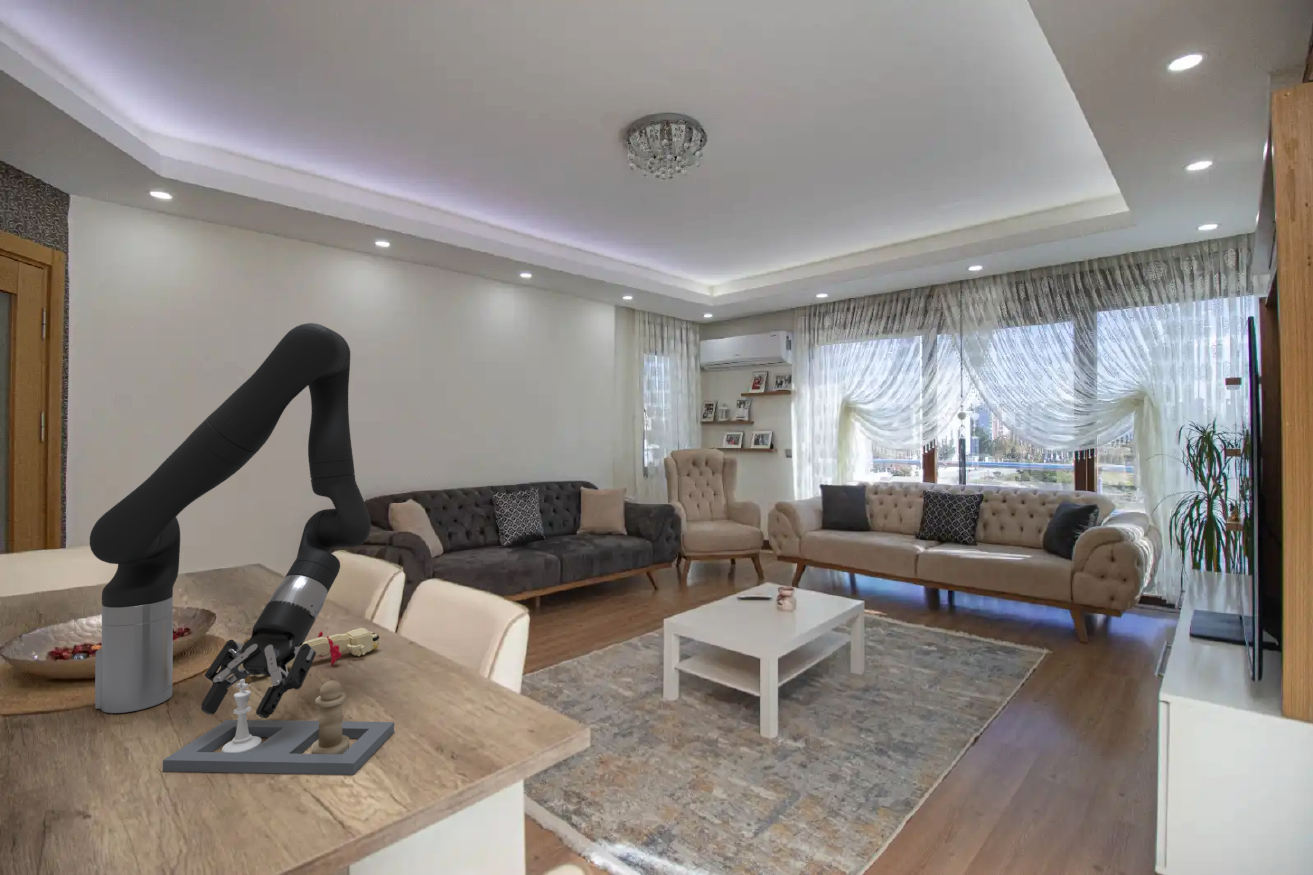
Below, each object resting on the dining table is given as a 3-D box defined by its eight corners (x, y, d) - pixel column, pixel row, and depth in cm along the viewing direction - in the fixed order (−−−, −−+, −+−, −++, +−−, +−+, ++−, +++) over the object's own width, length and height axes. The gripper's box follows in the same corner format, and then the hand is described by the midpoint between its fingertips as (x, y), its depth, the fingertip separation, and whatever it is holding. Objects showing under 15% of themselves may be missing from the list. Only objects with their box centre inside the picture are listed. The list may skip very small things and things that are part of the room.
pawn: (304, 759, 86) (304, 687, 86) (323, 742, 91) (323, 674, 91) (338, 760, 86) (338, 688, 86) (355, 743, 91) (355, 675, 91)
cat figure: (247, 696, 111) (389, 651, 128) (242, 648, 110) (385, 610, 127) (235, 680, 118) (371, 640, 135) (231, 635, 117) (368, 601, 135)
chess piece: (242, 759, 86) (242, 688, 86) (212, 756, 87) (212, 685, 87) (270, 742, 91) (270, 674, 91) (242, 739, 92) (242, 672, 92)
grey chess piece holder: (162, 771, 83) (162, 760, 83) (227, 729, 95) (227, 719, 95) (353, 774, 82) (353, 763, 82) (394, 731, 94) (394, 722, 94)
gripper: (238, 597, 97) (172, 700, 86) (322, 600, 95) (265, 706, 84) (264, 620, 102) (204, 721, 91) (343, 624, 101) (293, 727, 89)
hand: (234, 714), depth 88 cm, fingers open, 8 cm apart
